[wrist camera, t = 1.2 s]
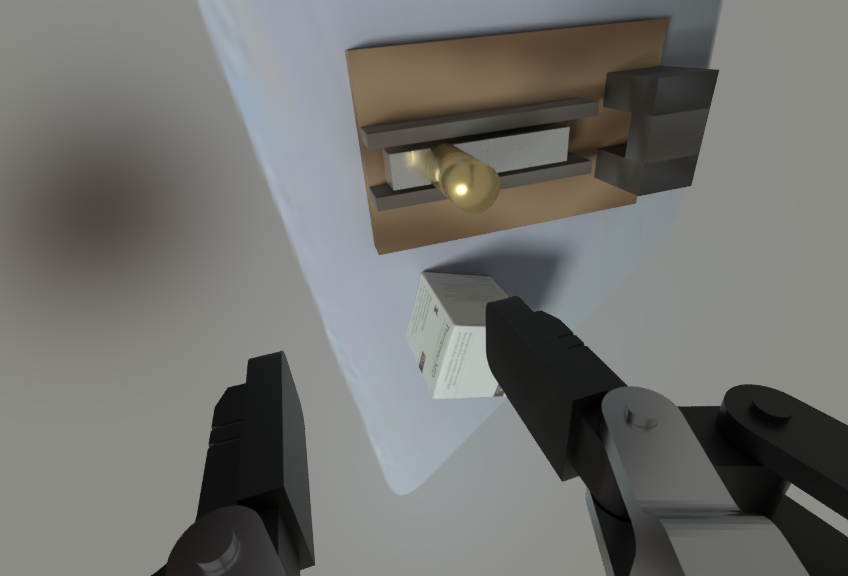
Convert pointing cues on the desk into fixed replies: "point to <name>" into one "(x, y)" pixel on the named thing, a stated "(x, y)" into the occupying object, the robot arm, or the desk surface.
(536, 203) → the plate
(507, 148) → the slide latch
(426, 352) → the skincare box
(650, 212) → the desk surface
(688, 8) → the desk surface
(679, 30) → the desk surface
